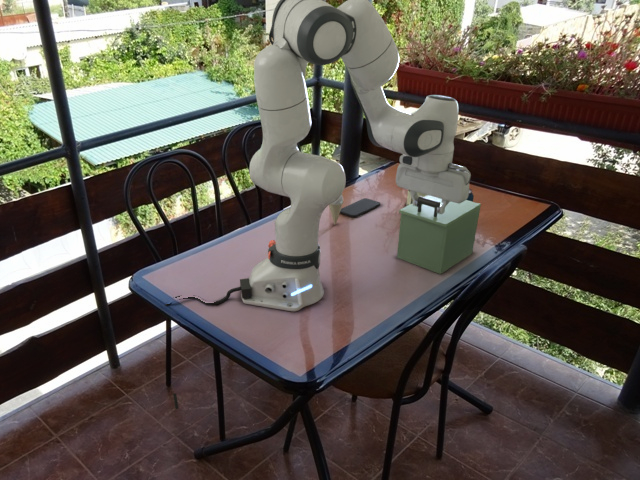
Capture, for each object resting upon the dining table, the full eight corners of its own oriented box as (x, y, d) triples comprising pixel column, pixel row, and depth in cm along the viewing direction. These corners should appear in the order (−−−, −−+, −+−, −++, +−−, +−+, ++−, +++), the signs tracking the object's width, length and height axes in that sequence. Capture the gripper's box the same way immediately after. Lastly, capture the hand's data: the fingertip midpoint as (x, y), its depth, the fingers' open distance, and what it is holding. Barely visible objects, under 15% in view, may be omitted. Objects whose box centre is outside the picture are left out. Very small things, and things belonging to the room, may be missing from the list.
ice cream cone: (333, 219, 190) (334, 177, 182) (345, 223, 187) (347, 181, 178) (324, 225, 187) (324, 182, 179) (336, 228, 184) (337, 185, 176)
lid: (445, 227, 147) (448, 209, 144) (399, 212, 156) (400, 195, 154) (480, 206, 156) (483, 189, 153) (434, 193, 166) (436, 177, 163)
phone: (381, 202, 197) (354, 215, 189) (381, 205, 197) (354, 218, 189) (364, 197, 202) (337, 210, 194) (364, 199, 202) (337, 212, 194)
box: (440, 274, 155) (447, 226, 147) (396, 257, 165) (401, 211, 157) (472, 253, 164) (480, 206, 156) (428, 238, 174) (434, 193, 166)
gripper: (478, 165, 139) (469, 215, 147) (408, 149, 153) (403, 196, 160) (464, 172, 136) (456, 223, 143) (394, 155, 149) (390, 203, 157)
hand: (428, 209), depth 152 cm, fingers closed on lid, 6 cm apart
